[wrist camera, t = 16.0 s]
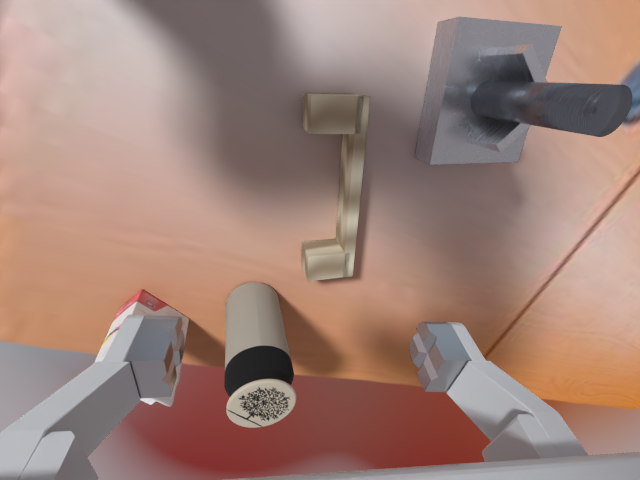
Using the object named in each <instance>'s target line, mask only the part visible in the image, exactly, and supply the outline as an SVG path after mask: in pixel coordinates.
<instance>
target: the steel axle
mask: <svg viewBox="0 0 640 480" xmlns="http://www.w3.org/2000/svg"><path fill="white" fill-rule="evenodd" d="M631 104H632V92H631V90H630V88H629V87H627V86H625V85H609V84H578V83H548V82H517V81H485V82H483V83H481V84H480V85H479V86H478V87H477V88H476V89H475V91H474V93H473V95H472V98H471V109H472V111H473V112H474V114H476V115H478V116H483V117H489V118H494V119H500V120H506V121H511V122H517V123H523V124H529V125H534V126H540V127H546V128H551V129H557V130H563V131H568V132H574V133H580V134H586V135H591V136H597V137H603V136H606V135H608V134H610V133H612V132H613V131H614V130H616V129H617V128H618V127H619V126H620V125H621V123H622V122H623V121H624V119H625V118H626V116H627V114H628V112H629V110H630V107H631Z"/></svg>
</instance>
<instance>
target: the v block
mask: <svg viewBox="0 0 640 480" xmlns="http://www.w3.org/2000/svg"><path fill="white" fill-rule="evenodd" d="M561 27H562V26H553V25H542V24H531V23H521V22H510V21H499V20H488V19H478V18H467V17H456V18H452V19H448V20H444V21H440V22H438V24H437V30H436V36H435V42H434V48H433V54H432V59H431V65H430V71H429V77H428V83H427V88H426V94H425V100H424V106H423V112H422V118H421V123H420V129H419V135H418V141H417V147H416V152H415V158H416V159H418V160H421V161H423V162H425V163H427V164H429V165H437V164H470V163H503V162H518V160H519V157H520V154H521V150H522V147H523V144H524V141H525V138H526V135H527V132H528V129H529V126H530V125H529V124H523V123H517V122H511V121H506V120H500V119H494V118H489V117H483V116H478V115H476V114H474V112H473V111H472V109H471V98H472V95H473V93H474V91H475V89H476V88H477V87H478V86H479V85H480V84H481V83H483V82H485V81H517V82H547V81H546V78H545V77H546V73H547V70H548V67H549V64H550V61H551V58H552V55H553V52H554V49H555V46H556V43H557V40H558V36H559V33H560V30H561Z"/></svg>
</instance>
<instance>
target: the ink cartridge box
mask: <svg viewBox="0 0 640 480" xmlns="http://www.w3.org/2000/svg"><path fill="white" fill-rule="evenodd" d="M128 315H156V316H177V317H182V322H183V325H182V329H181V331H182V332H183V333H184V338H185V341H186V335H187V329H188V324H189V319H188V318H187V317H186V316H184V315H182V314H181V313H179V312H178V311H176V310H174V309H173V308H171V307H170V306H168V305H166V304H165V303H163V302H162V301H160V300H158V299H157V298H155V297H154V296H152V295H151V294H149V293H147V292H146V291H144V290H140V291H139V292H138V293H137V294H136V295H135V296H133V297H132V298H131V299H130V300H129V301H127V302H126V303H125V304H124V305H123V306H122V307H120V308H119V310H118V312H117V315H116V317H115V319H114V321H113V323H112V325H111V327H110V330H109V332H108V334H107V336H106V338H105V341H104V343H103V345H102V347H101V349H100V351H99V354H98V356H97V358H96V361H95V362H101V361H103V359H104V357H105V355H106V353H107V351H108V349H109V348H110V346H111V344H112V342H113V340H114V338H115V336H116V334H117V332H118V330H119V328H120V326H121V324H122V322H123V321H124V319H125V318H126V317H127V316H128ZM185 341H184V347H185ZM183 353H184V351H183ZM182 359H183V357H182ZM181 364H182V360H181V363H180V364H179V365H178V366H177V367H176V373H177V378H176V382H175V385H174V388H173V392H172V395H171V397H161V398H140V400H141V401H143V402H145V403H148V404H150V405H152V404H153V403H154V402H156V401H158V402H160V403H162V404H164V405H166V406H172V404H173V400H174V395H175V391H176V386H177V384H178V383H179V376H180V370H181Z"/></svg>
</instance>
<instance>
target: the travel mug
mask: <svg viewBox="0 0 640 480" xmlns="http://www.w3.org/2000/svg"><path fill="white" fill-rule="evenodd" d="M293 376H294V372H293V367H292V362H291V357H290V353H289V348H288V343H287V338H286V333H285V328H284V324H283V319H282V314H281V309H280V304H279V299H278V295H277V293H276V292H275V290H274V289H273V288H271V287H270V286H268V285H266V284H263V283H258V282H252V283H246V284H243V285H241V286H239V287H237V288H236V289H234V290H233V291H232V292H231V294H230V295H229V297H228V299H227V303H226V342H225V390H226V392H227V394H228V395H229V396H230V398H229V400H228V403H227V407H226V411H227V415H228V417H229V418H230V420H231V421H233V422H234V423H235V424H237V425H240V426H243V427H251V428H253V427H263V426H267V425H271V424H273V423H275V422H278V421H279V420H281V419H282V418H284V417H285V416H287V415H288V414H289V412H291V410H292V409H293V407H294V405H295V402H296V393H295V391H294V389H293V387H292V386H291V383H292V381H293Z"/></svg>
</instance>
